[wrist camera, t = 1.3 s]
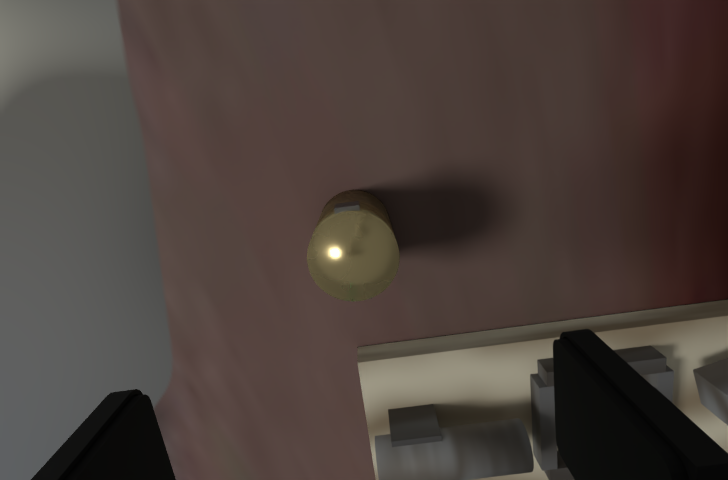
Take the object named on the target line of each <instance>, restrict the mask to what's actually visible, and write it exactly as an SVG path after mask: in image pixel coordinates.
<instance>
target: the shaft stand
mask: <svg viewBox="0 0 728 480" xmlns="http://www.w3.org/2000/svg"><path fill="white" fill-rule="evenodd" d="M581 329H590V330H591V331H593V332H594V333H595V334H596V335H597V336H598V337H599V338H600V339H601V340H602V341H604V342H605V343H606V344H607V345H608V346H609V347H610V348H611V349H612V350H613V351H615V352H616V353H617V354H618V355H619V356H620V357H621V358H622V359H623V360H625V361H626V362H627V363H628V364H629V365H630V366H631V367H632V368H633V369H634V370H636V371H637V372H638V373H639V374H640V375H641V376H642V377H643V378H644V379H645V380H647V381H648V382H649V383H650V384H651V385H652V386H653V387H655V388H656V389H657V390H659V391H660V392H661V393H662V394H663V395H664V396H665V397H666V398H667V399H668V400H670V401H671V402H672V403H673V404H674V405H675V406H676V407H677V408H678V409H680V410H681V411H682V412H683V413H684V414H685V415H686V416H687V417H688V418H689V419H691V420H692V421H693V422H694V423H695V424H696V425H697V426H698V427H699V428H701V429H702V430H703V431H704V432H705V433H706V434H707V435H708V436H709V437H710V438H712V439H713V440H714V441H715V442H716V443H717V444H718V445H719V446H720V447H721V448H723V449H724V450H725V451H726V452H727V453H728V300H721V301H713V302H706V303H698V304H690V305H682V306H674V307H667V308H659V309H651V310H643V311H636V312H628V313H620V314H612V315H604V316H597V317H589V318H581V319H573V320H565V321H558V322H550V323H542V324H534V325H526V326H519V327H511V328H503V329H495V330H487V331H480V332H472V333H464V334H456V335H448V336H441V337H433V338H425V339H417V340H409V341H402V342H394V343H386V344H378V345H370V346H363V347H358V369H359V375H360V381H361V388H362V394H363V400H364V407H365V413H366V420H367V426H368V432H369V439H370V445H371V451H372V458H373V464H374V471H375V477H376V480H573V479H574V478H573V476H572V474H571V473H570V471H569V469H568V468H567V466H566V464H565V463H564V461H563V459H562V458H561V456H560V453H559V451H558V448H557V444H556V431H555V400H554V369H553V342H554V340H556V339H560V335H561V333H562V332H567V331H574V330H581Z"/></svg>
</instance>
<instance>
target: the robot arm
mask: <svg viewBox="0 0 728 480" xmlns="http://www.w3.org/2000/svg"><path fill="white" fill-rule="evenodd" d="M553 369H554V400H555V431H556V444H557V448H558V451H559V453H560V456H561V458H562V459H563V461H564V463H565V464H566V466H567V468H568V469H569V471H570V473H571V474H572V476H573V478H574V479H575V480H728V453H727V452H726V451H725V450H724V449H723V448H721V447H720V446H719V445H718V444H717V443H716V442H715V441H714V440H713V439H712V438H710V437H709V436H708V435H707V434H706V433H705V432H704V431H703V430H702V429H701V428H699V427H698V426H697V425H696V424H695V423H694V422H693V421H692V420H691V419H689V418H688V417H687V416H686V415H685V414H684V413H683V412H682V411H681V410H680V409H678V408H677V407H676V406H675V405H674V404H673V403H672V402H671V401H670V400H668V399H667V398H666V397H665V396H664V395H663V394H662V393H661V392H660V391H659V390H657V389H656V388H655V387H653V386H652V385H651V384H650V383H649V382H648V381H647V380H645V379H644V378H643V377H642V376H641V375H640V374H639V373H638V372H637V371H636V370H634V369H633V368H632V367H631V366H630V365H629V364H628V363H627V362H626V361H625V360H623V359H622V358H621V357H620V356H619V355H618V354H617V353H616V352H615V351H613V350H612V349H611V348H610V347H609V346H608V345H607V344H606V343H605V342H604V341H602V340H601V339H600V338H599V337H598V336H597V335H596V334H595V333H594V332H593V331H591V330H590V329H581V330H574V331H567V332H562V333H561V335H560V339H556V340H554V342H553ZM31 480H176V479H175V476H174V473H173V470H172V466H171V463H170V460H169V457H168V454H167V451H166V447H165V444H164V441H163V438H162V435H161V432H160V428H159V425H158V422H157V419H156V416H155V413H154V410H153V406H152V403H151V400H150V398H149V397H148V396H147V395H143V394H142V392H141V391H140V390H137V389H135V390H127V391H120V392H113V393H110V394H109V395H108V396H107V397H106V398H105V399H104V400H103V401H102V402H101V403H100V404H99V405H98V407H97V408H96V409H95V410H94V411H93V412H92V413H91V414H90V415H89V417H88V418H87V419H86V420H85V421H84V422H83V423H82V424H81V425H80V426H79V427H78V429H77V430H76V431H75V432H74V433H73V434H72V435H71V436H70V437H69V438H68V440H67V441H66V442H65V443H64V444H63V445H62V446H61V447H60V448H59V449H58V451H57V452H56V453H55V454H54V455H53V456H52V457H51V458H50V459H49V461H48V462H47V463H46V464H45V465H44V466H43V467H42V468H41V469H40V470H39V471H38V472H37V474H36V475H35V476H34V477H33V478H32V479H31Z"/></svg>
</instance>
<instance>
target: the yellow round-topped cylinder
mask: <svg viewBox="0 0 728 480" xmlns="http://www.w3.org/2000/svg"><path fill="white" fill-rule="evenodd" d="M399 259H400V256H399V248H398V244H397V241H396V238H395V235H394V232H393V228H392V225H391V222H390V219H389V216H388V213H387V210H386V208H385V206H384V205H383V203H382V202H381V201H380V200H379V199H378V198H376V197H375V196H374V195H372V194H370V193H368V192H365V191H361V190H349V191H344V192H341V193H339V194H337V195H336V196H334V197H333V198H332V199H330V200H329V201H328V203H327V204H326V205H325V207H324V209H323V211H322V213H321V216H320V218H319V221H318V223H317V226H316V228H315V231H314V233H313V236H312V238H311V241H310V243H309V247H308V252H307V262H308V267H309V271H310V273H311V276H312V278H313V279H314V281H315V282H316V284H317V285H318V286H319V287H320V288H321V289H322V290H323V291H325V292H326V293H327V294H329V295H331V296H333V297H335V298H337V299H341V300H345V301H362V300H366V299H370V298H372V297H374V296H376V295H378V294H380V293H381V292H382V291H384V290H385V289H386V288H387V287H388V286H389V285H390V283H391V282H392V281H393V279H394V277H395V275H396V273H397V270H398V266H399Z"/></svg>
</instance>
